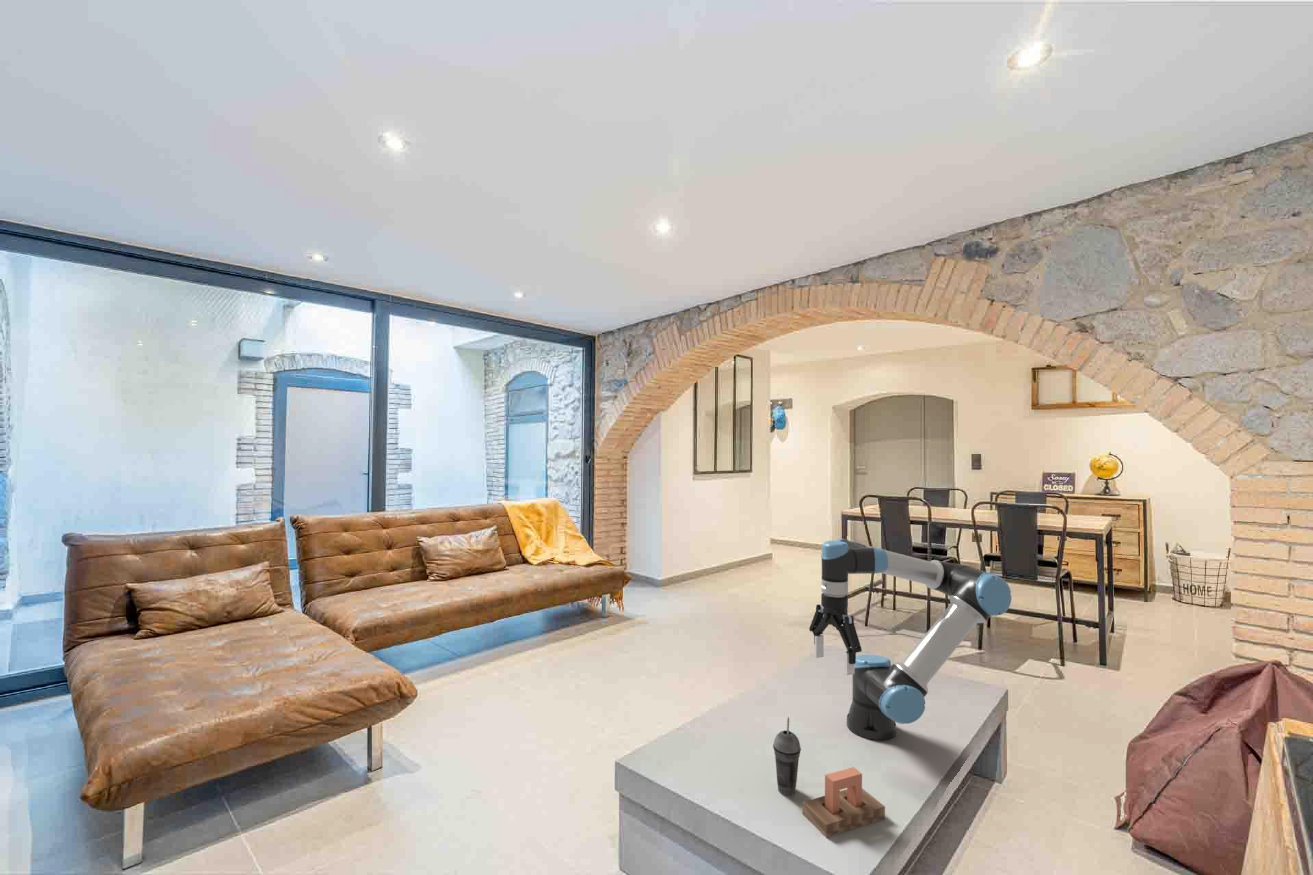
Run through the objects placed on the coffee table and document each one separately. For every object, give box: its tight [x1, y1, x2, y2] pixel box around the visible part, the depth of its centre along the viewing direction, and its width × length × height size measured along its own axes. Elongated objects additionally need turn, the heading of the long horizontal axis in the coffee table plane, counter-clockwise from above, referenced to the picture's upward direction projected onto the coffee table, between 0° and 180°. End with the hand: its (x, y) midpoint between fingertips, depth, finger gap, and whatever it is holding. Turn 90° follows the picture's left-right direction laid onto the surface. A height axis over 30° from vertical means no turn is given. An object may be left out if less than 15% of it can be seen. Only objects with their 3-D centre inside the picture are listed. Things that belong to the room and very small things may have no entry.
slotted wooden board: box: [802, 787, 886, 838], centre depth 141 cm, size 18×9×3 cm, turn 112°
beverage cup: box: [772, 717, 802, 797], centre depth 151 cm, size 7×7×20 cm
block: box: [824, 766, 863, 815], centre depth 141 cm, size 9×3×10 cm, turn 112°
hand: (833, 665), depth 169 cm, fingers open, 13 cm apart
